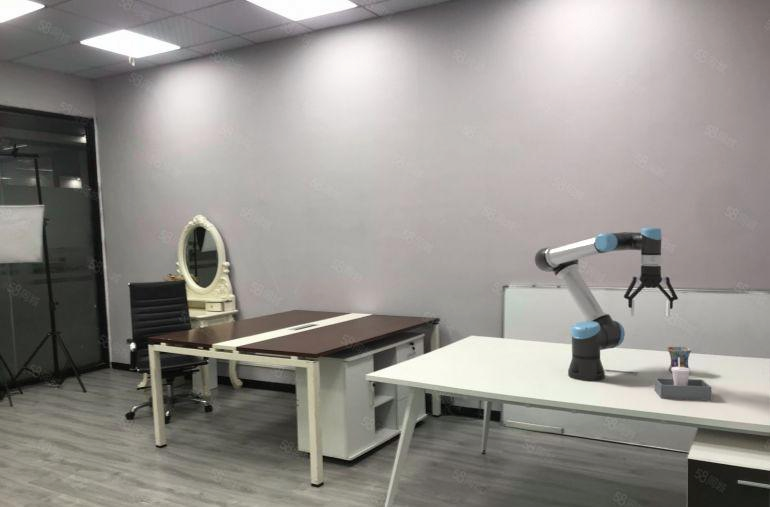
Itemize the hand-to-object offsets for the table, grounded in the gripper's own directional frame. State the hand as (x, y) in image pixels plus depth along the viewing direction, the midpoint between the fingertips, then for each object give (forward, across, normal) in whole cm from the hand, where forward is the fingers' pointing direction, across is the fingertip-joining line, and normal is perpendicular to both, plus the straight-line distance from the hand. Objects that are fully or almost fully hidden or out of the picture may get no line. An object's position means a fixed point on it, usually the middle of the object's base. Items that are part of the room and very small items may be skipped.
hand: (650, 316), depth 231 cm
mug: (+28, +16, +19) cm, 38 cm away
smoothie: (+27, +8, -18) cm, 33 cm away
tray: (+27, +8, -18) cm, 34 cm away
